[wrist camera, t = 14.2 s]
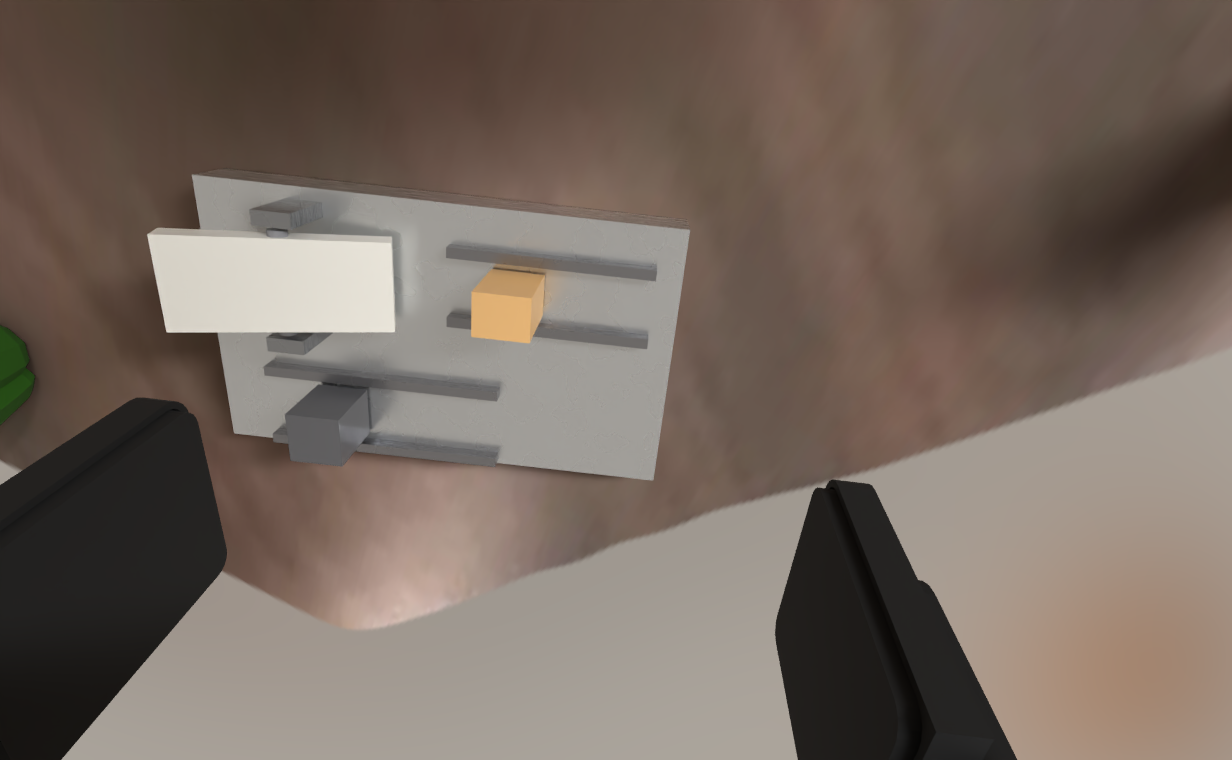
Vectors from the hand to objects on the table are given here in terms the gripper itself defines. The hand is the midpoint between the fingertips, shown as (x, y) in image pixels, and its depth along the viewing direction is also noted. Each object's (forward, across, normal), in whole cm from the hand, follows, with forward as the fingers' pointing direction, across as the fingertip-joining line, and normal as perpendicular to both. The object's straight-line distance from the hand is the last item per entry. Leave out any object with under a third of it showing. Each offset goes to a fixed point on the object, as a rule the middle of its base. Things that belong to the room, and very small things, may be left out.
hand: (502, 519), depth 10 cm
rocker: (+24, +17, +6) cm, 30 cm away
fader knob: (+26, +16, +15) cm, 34 cm away
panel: (+30, +10, +10) cm, 33 cm away
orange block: (+27, +5, +6) cm, 28 cm away
